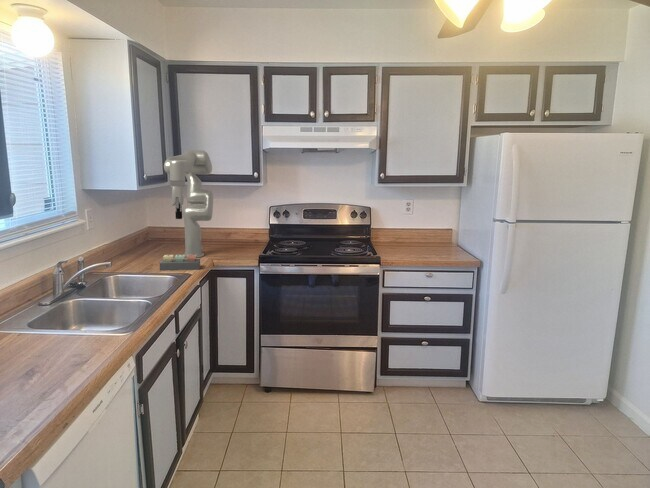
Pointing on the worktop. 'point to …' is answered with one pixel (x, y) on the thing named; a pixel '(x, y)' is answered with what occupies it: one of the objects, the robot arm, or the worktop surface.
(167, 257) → the tile one
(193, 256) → the tile three
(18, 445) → the worktop surface
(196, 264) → the console
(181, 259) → the tile two
